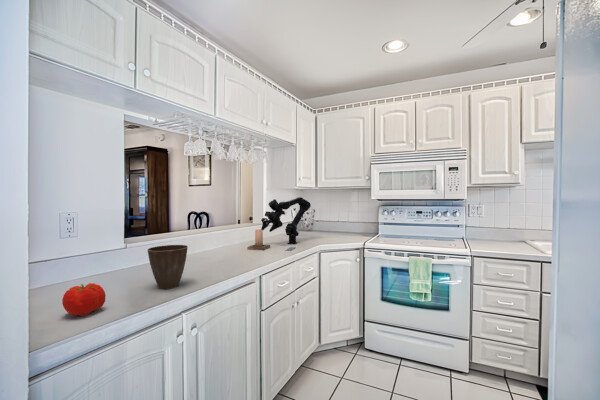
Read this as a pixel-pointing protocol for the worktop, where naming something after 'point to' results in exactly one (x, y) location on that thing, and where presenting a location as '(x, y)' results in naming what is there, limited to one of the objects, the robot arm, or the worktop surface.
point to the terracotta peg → (258, 238)
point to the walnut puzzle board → (258, 247)
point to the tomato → (83, 299)
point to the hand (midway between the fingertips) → (265, 230)
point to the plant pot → (167, 264)
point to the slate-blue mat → (290, 248)
